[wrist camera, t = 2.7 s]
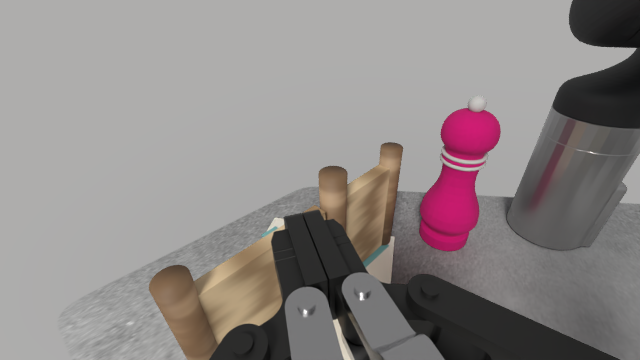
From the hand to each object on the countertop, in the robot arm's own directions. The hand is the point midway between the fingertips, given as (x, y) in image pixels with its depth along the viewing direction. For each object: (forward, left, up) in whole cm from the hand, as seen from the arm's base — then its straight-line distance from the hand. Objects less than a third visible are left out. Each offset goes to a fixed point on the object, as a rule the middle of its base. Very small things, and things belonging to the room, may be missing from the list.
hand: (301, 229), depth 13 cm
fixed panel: (-1, -17, -21) cm, 27 cm away
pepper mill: (-11, -25, -22) cm, 35 cm away
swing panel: (+6, -5, -21) cm, 22 cm away
